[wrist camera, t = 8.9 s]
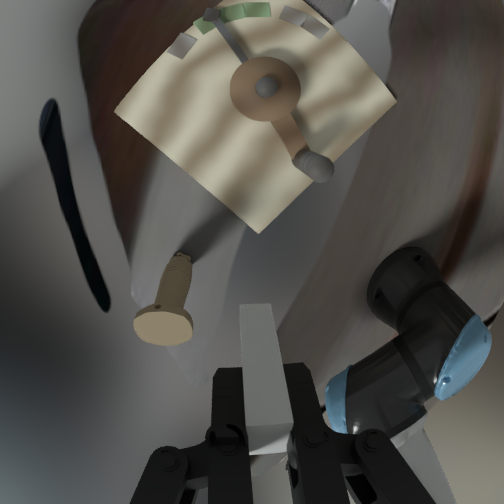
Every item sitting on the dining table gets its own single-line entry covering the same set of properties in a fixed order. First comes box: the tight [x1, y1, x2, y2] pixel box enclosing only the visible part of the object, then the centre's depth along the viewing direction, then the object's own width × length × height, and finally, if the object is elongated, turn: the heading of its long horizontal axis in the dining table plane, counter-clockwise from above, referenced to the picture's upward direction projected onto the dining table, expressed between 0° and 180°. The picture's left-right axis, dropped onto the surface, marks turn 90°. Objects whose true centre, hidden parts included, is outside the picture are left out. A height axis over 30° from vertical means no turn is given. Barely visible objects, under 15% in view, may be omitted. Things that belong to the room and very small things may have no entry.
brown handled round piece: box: [203, 8, 334, 183], centre depth 25 cm, size 25×8×8 cm, turn 30°
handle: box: [134, 252, 193, 346], centre depth 33 cm, size 5×6×15 cm
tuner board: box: [114, 0, 397, 234], centre depth 30 cm, size 26×28×1 cm
